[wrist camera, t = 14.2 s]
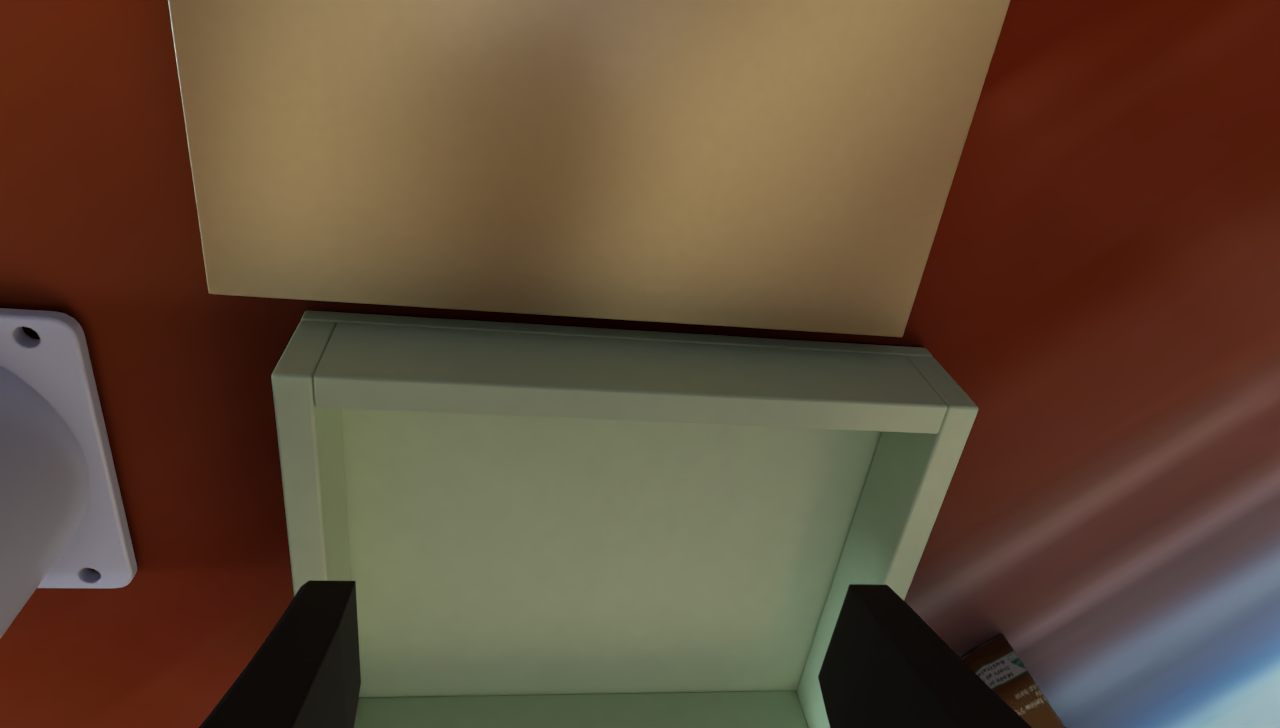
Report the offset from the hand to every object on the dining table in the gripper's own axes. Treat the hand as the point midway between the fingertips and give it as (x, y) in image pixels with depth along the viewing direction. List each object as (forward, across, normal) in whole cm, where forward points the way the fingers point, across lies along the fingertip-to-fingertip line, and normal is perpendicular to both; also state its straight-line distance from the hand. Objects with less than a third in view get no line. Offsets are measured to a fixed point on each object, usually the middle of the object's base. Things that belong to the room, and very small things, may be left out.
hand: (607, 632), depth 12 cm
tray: (+9, -2, +6) cm, 12 cm away
